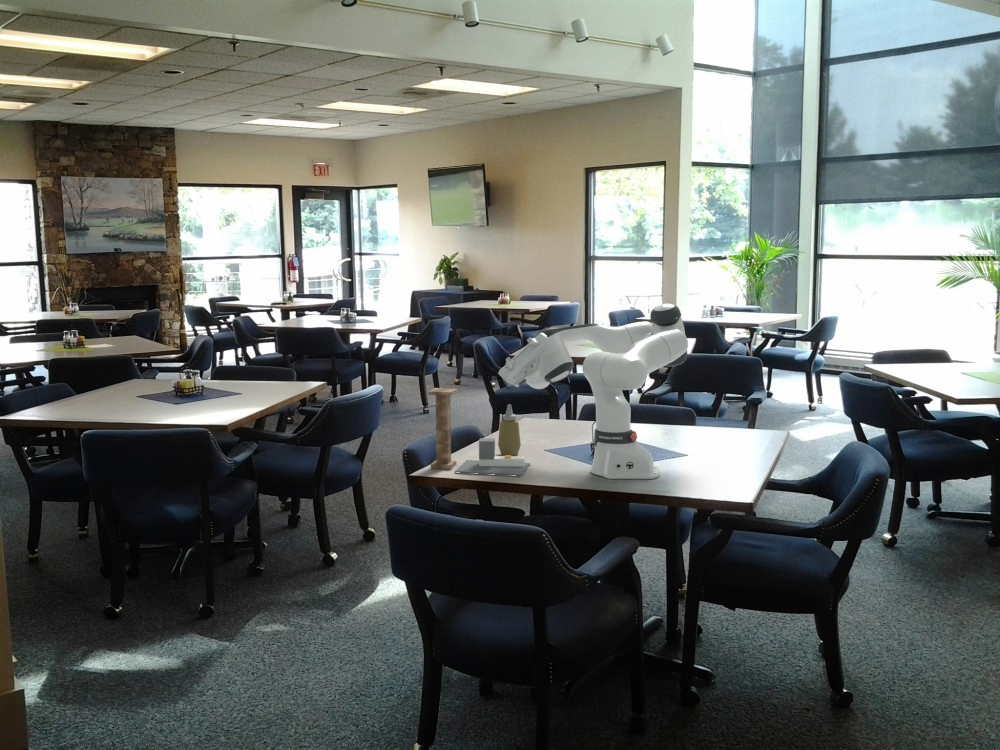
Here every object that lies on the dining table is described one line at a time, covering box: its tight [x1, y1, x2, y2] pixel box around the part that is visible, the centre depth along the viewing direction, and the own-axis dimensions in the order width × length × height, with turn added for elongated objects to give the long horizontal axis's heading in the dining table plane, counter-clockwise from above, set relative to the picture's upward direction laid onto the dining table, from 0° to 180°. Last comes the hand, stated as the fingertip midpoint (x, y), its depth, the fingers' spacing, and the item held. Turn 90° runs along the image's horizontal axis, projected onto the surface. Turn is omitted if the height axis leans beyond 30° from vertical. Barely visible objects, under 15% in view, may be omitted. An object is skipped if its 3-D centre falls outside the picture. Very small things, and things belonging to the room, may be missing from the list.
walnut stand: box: [427, 387, 459, 470], centre depth 310 cm, size 8×8×26 cm
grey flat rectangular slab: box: [454, 459, 531, 477], centre depth 309 cm, size 22×16×1 cm
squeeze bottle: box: [497, 404, 522, 456], centre depth 329 cm, size 8×8×18 cm
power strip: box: [478, 437, 526, 467], centre depth 311 cm, size 15×5×8 cm, turn 87°
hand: (519, 349), depth 303 cm, fingers open, 8 cm apart
